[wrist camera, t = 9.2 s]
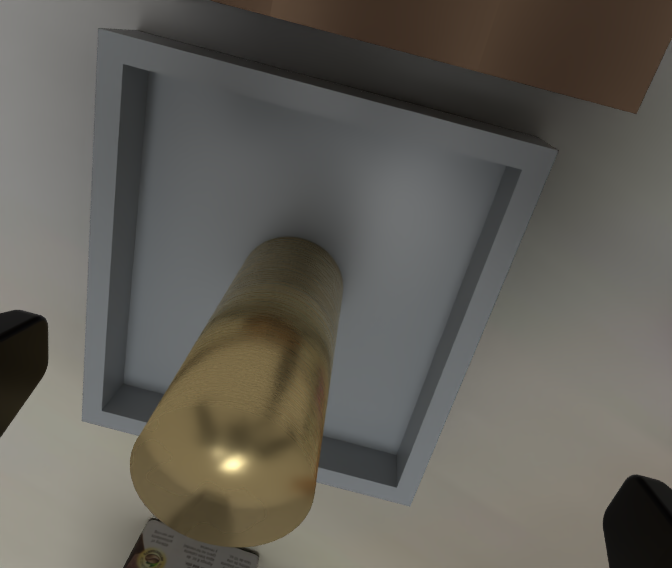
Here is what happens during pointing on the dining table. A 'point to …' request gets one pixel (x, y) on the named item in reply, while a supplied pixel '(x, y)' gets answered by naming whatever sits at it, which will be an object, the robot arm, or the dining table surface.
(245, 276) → the pin
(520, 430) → the dining table surface
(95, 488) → the dining table surface
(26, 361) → the robot arm
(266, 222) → the tray
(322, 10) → the hitch block
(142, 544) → the coffee box
